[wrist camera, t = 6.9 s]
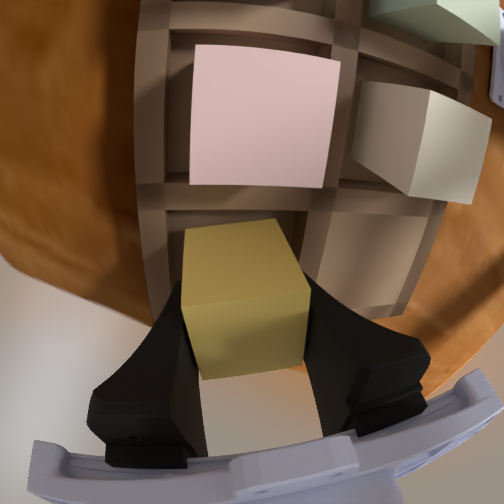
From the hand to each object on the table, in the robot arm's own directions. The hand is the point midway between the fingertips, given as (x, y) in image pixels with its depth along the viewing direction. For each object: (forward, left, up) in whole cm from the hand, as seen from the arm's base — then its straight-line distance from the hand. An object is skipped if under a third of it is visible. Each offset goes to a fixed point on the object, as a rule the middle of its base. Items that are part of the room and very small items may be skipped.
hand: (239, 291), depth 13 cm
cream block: (-7, -7, -3) cm, 11 cm away
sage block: (-7, -15, -3) cm, 17 cm away
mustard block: (0, 0, -2) cm, 2 cm away
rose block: (0, -7, -3) cm, 8 cm away
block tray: (-4, -7, -4) cm, 9 cm away
